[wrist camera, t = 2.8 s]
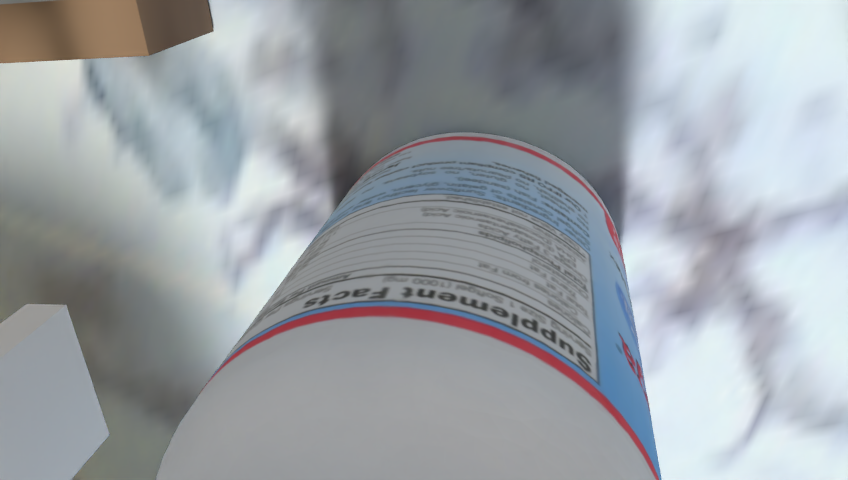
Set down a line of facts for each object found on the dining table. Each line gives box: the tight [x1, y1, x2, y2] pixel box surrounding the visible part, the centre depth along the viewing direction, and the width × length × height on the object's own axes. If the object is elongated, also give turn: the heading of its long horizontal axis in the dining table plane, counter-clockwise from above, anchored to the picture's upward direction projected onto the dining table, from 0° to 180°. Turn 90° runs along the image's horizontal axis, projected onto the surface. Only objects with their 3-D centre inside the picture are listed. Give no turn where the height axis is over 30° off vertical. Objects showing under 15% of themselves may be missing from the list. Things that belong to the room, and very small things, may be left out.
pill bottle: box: [156, 132, 661, 480], centre depth 10 cm, size 6×6×11 cm
